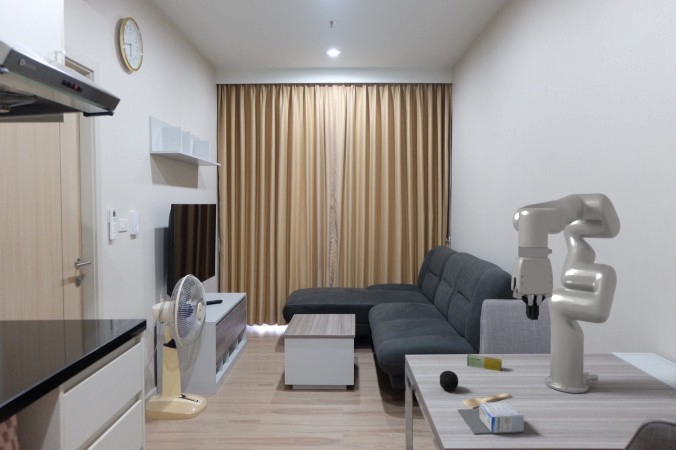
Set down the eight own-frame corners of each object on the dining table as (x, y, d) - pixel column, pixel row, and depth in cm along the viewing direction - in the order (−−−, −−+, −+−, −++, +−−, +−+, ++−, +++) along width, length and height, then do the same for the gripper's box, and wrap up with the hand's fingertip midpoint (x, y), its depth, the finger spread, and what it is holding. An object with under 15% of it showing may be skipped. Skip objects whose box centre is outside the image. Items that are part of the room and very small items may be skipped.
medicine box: (509, 417, 120) (479, 418, 119) (509, 401, 120) (478, 402, 119) (524, 431, 112) (491, 433, 111) (523, 414, 112) (491, 416, 111)
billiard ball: (459, 394, 136) (459, 375, 136) (439, 393, 137) (439, 374, 137) (457, 386, 142) (457, 368, 141) (438, 385, 143) (438, 367, 143)
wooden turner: (503, 393, 136) (503, 391, 136) (514, 399, 132) (514, 396, 132) (462, 403, 130) (462, 400, 130) (472, 409, 126) (472, 406, 126)
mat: (498, 409, 125) (498, 408, 125) (520, 432, 112) (520, 431, 112) (457, 410, 125) (457, 409, 125) (474, 434, 112) (474, 432, 112)
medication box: (466, 366, 160) (466, 355, 160) (468, 364, 162) (468, 353, 162) (501, 372, 154) (501, 361, 154) (502, 369, 157) (502, 358, 157)
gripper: (551, 251, 125) (550, 314, 126) (500, 252, 124) (500, 316, 125) (566, 254, 117) (566, 321, 118) (512, 255, 116) (512, 323, 117)
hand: (532, 318), depth 121 cm, fingers closed
